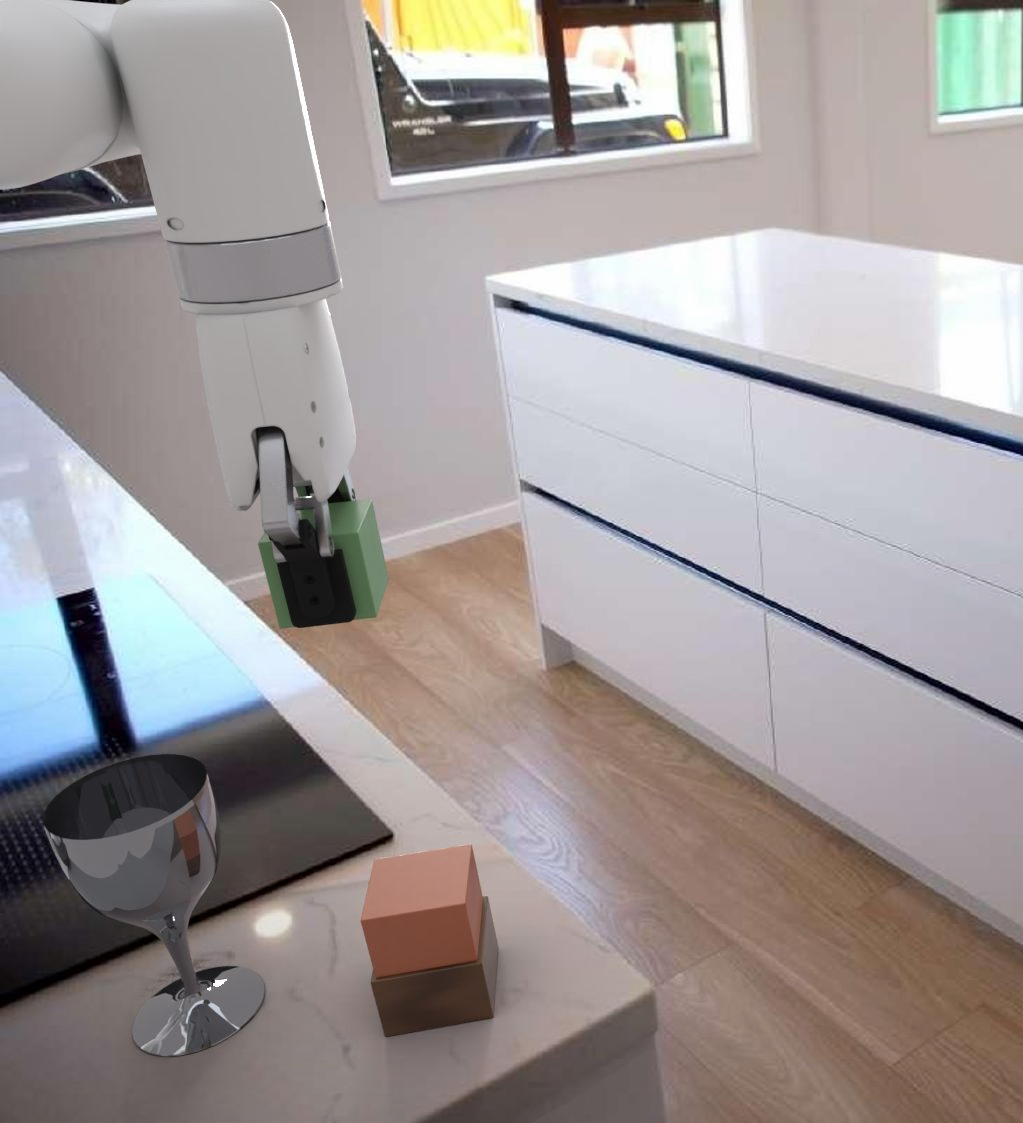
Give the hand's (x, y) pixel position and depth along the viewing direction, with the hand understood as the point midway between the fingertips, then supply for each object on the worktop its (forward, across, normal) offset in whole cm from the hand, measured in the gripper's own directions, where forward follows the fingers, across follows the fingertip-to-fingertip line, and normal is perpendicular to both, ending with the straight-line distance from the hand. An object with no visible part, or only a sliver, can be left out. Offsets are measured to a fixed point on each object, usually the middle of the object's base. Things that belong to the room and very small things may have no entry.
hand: (334, 596), depth 70 cm
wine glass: (+23, +4, -12) cm, 26 cm away
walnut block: (+23, +6, +2) cm, 24 cm away
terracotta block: (+19, +6, +2) cm, 20 cm away
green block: (0, 0, 0) cm, 0 cm away
